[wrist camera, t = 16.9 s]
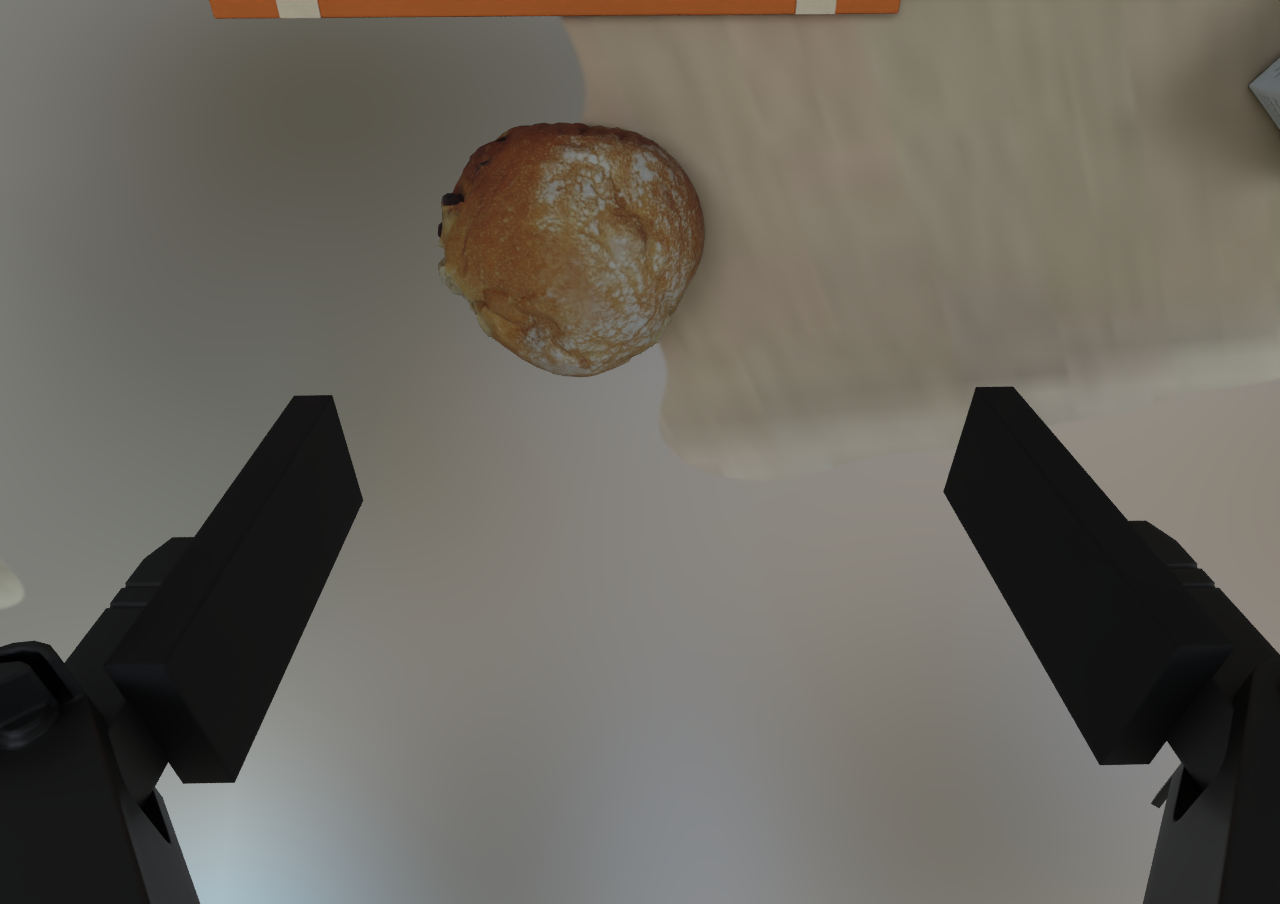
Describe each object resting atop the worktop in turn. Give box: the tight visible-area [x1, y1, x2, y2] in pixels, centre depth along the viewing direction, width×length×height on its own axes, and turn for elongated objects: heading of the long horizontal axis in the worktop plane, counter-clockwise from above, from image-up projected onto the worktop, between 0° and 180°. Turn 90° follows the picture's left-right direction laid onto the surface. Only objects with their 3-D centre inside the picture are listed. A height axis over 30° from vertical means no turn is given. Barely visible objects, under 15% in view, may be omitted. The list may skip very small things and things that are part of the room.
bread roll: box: [438, 123, 705, 377], centre depth 29 cm, size 10×10×8 cm
